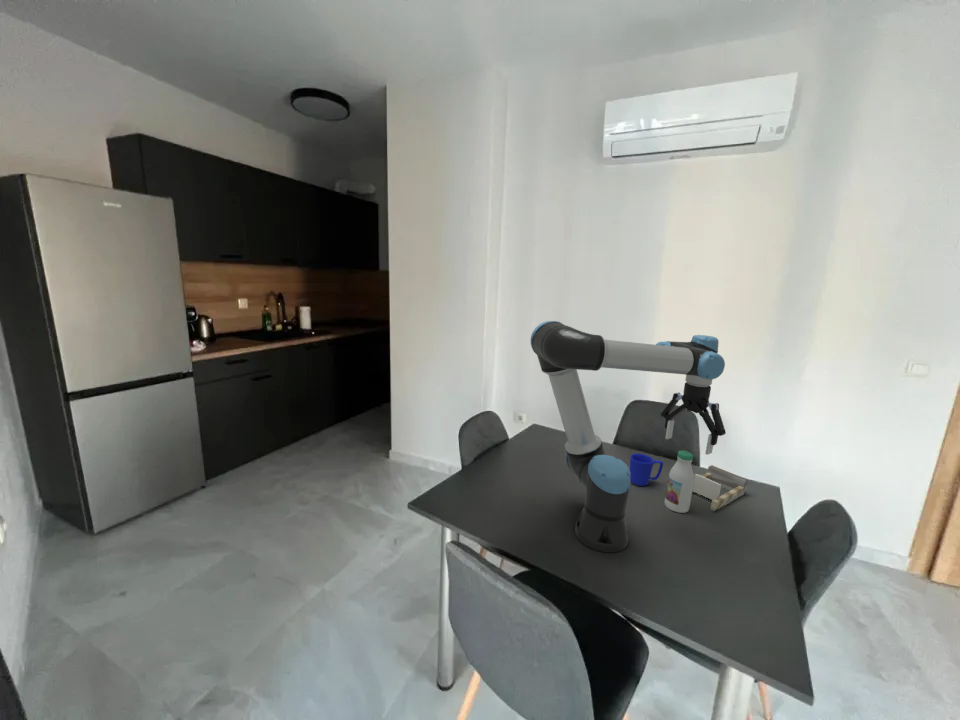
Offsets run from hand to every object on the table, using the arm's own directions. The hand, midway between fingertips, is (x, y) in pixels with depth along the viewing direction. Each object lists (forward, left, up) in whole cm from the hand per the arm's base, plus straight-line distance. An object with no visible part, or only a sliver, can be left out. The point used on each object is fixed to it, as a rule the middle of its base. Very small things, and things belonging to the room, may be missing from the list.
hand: (687, 445), depth 135 cm
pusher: (+16, -2, -22) cm, 28 cm away
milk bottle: (0, 0, -23) cm, 23 cm away
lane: (+20, -2, -23) cm, 30 cm away
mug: (+5, +16, -23) cm, 28 cm away
